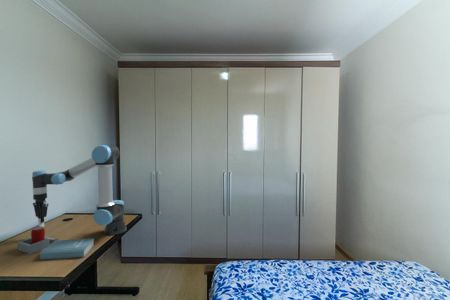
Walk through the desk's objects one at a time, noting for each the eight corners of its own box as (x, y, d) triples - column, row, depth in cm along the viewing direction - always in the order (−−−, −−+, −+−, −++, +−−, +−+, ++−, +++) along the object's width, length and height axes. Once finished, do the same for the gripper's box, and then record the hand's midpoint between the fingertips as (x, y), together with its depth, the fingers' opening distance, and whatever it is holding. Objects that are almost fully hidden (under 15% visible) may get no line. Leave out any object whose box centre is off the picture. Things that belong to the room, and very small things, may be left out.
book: (94, 245, 153) (94, 238, 153) (83, 258, 137) (83, 249, 137) (55, 248, 149) (55, 240, 149) (40, 260, 133) (40, 252, 133)
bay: (58, 244, 153) (58, 236, 153) (31, 254, 139) (31, 246, 139) (44, 240, 159) (44, 233, 158) (17, 250, 145) (17, 242, 144)
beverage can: (37, 244, 153) (37, 225, 153) (47, 244, 153) (47, 226, 152) (28, 248, 146) (28, 229, 146) (38, 249, 146) (38, 230, 146)
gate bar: (55, 243, 154) (55, 237, 154) (52, 244, 153) (52, 238, 152) (43, 240, 159) (43, 234, 158) (40, 241, 157) (40, 235, 157)
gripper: (52, 192, 163) (53, 226, 164) (39, 191, 168) (41, 224, 169) (40, 195, 156) (41, 230, 157) (27, 193, 161) (29, 227, 162)
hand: (41, 227), depth 163 cm, fingers closed
